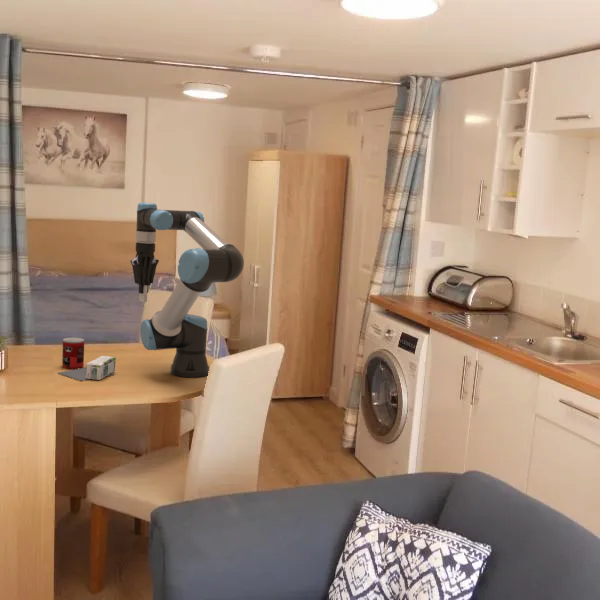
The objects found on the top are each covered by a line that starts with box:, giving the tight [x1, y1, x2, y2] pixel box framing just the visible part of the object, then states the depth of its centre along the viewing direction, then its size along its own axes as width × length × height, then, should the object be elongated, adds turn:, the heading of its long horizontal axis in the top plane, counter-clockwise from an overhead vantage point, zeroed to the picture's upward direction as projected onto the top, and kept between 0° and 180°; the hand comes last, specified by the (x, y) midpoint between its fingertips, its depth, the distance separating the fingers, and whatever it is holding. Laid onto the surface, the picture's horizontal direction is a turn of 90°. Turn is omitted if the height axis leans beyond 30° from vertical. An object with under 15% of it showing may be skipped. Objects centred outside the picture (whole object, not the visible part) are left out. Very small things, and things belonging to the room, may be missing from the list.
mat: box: [58, 367, 115, 382], centre depth 277 cm, size 14×15×1 cm
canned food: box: [61, 337, 85, 370], centre depth 286 cm, size 8×8×11 cm
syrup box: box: [85, 355, 117, 381], centre depth 276 cm, size 6×6×14 cm
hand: (143, 301), depth 292 cm, fingers closed
